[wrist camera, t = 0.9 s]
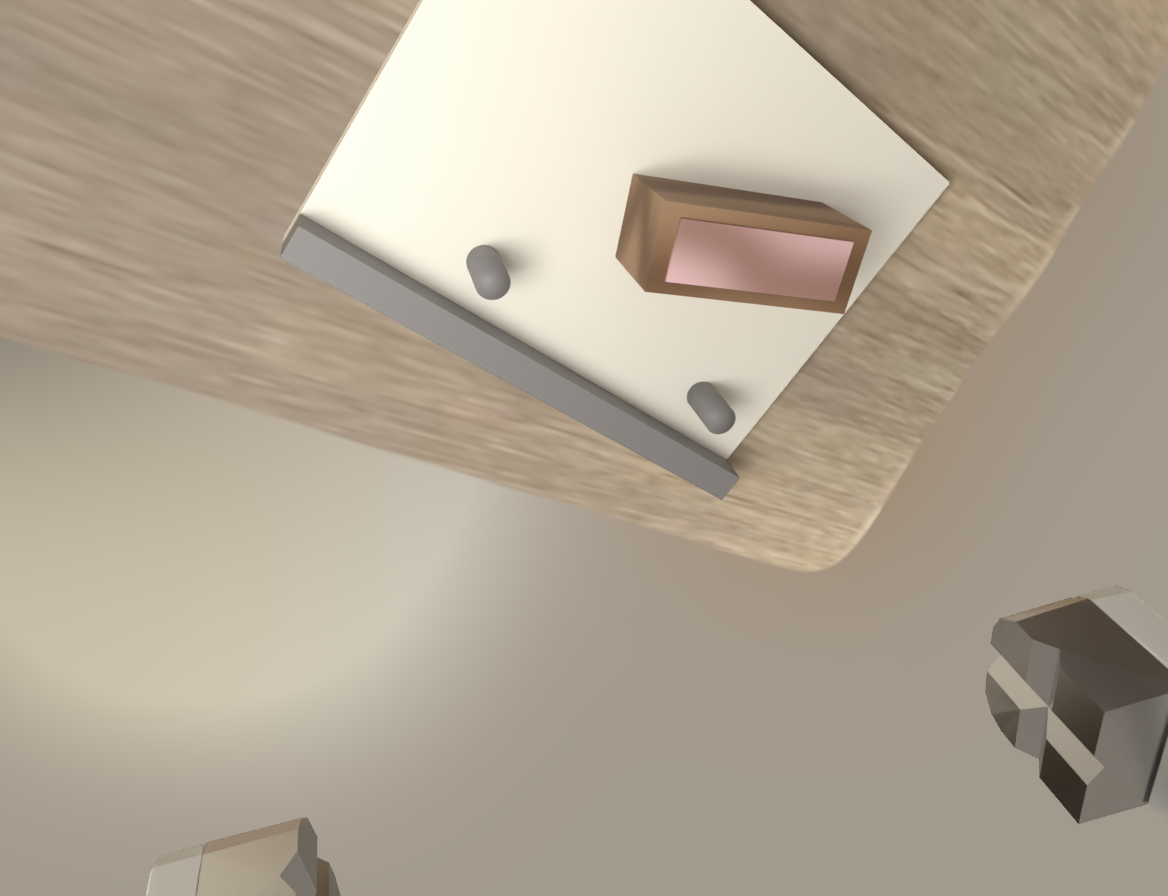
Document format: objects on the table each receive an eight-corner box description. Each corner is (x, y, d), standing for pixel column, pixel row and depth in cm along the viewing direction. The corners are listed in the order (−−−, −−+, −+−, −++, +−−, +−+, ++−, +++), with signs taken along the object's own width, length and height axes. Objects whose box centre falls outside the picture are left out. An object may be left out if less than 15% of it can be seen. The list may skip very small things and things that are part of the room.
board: (529, -192, 36) (551, -205, 32) (936, 177, 47) (985, 197, 44) (283, 236, 41) (279, 265, 38) (702, 470, 53) (728, 509, 50)
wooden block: (632, 173, 42) (666, 201, 38) (822, 202, 45) (873, 231, 41) (615, 257, 44) (645, 293, 40) (798, 279, 47) (845, 315, 43)
